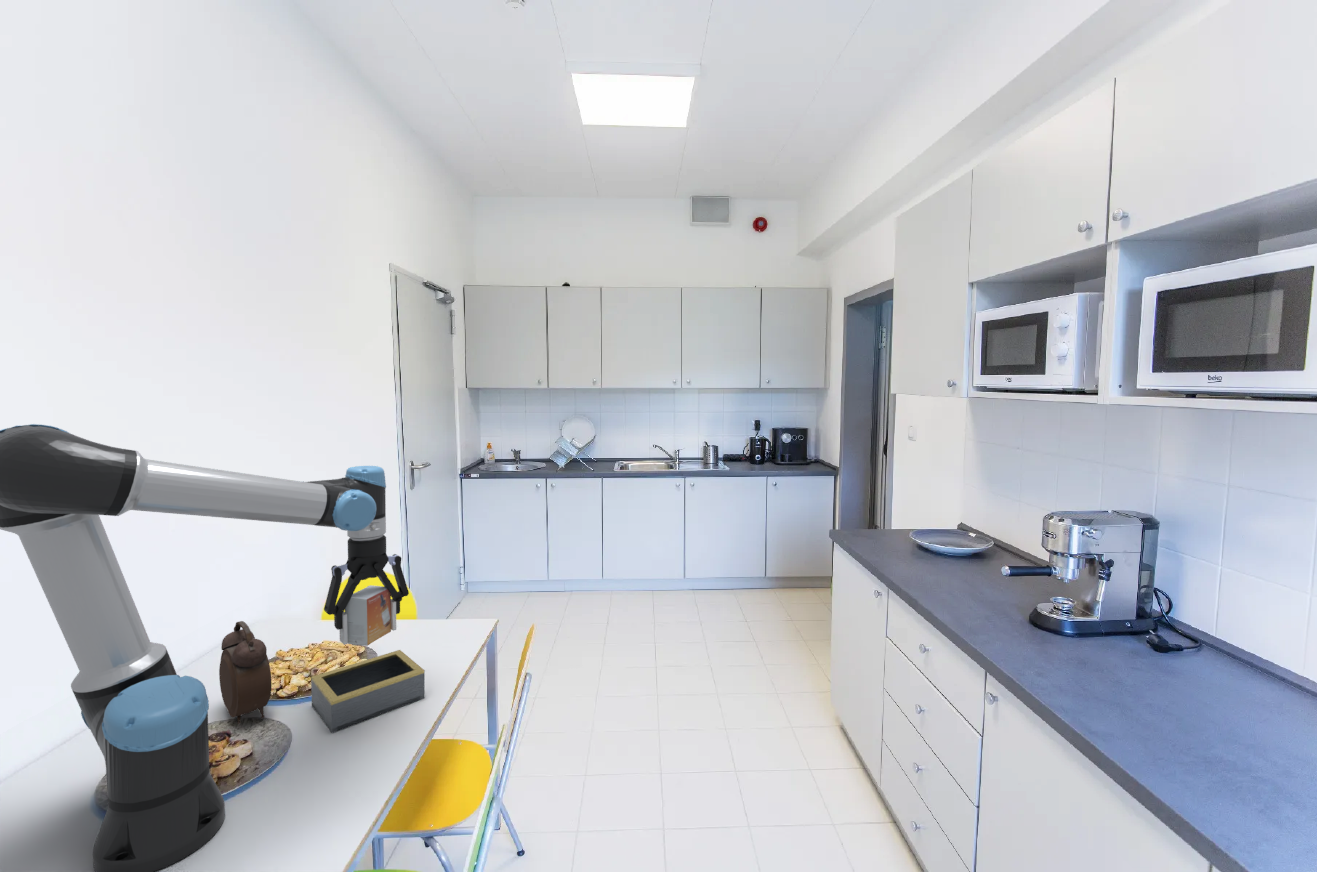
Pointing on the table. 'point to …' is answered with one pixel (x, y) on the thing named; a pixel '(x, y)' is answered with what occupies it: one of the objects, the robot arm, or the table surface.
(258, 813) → the table surface
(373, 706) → the box
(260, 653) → the alarm clock
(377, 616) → the small box
